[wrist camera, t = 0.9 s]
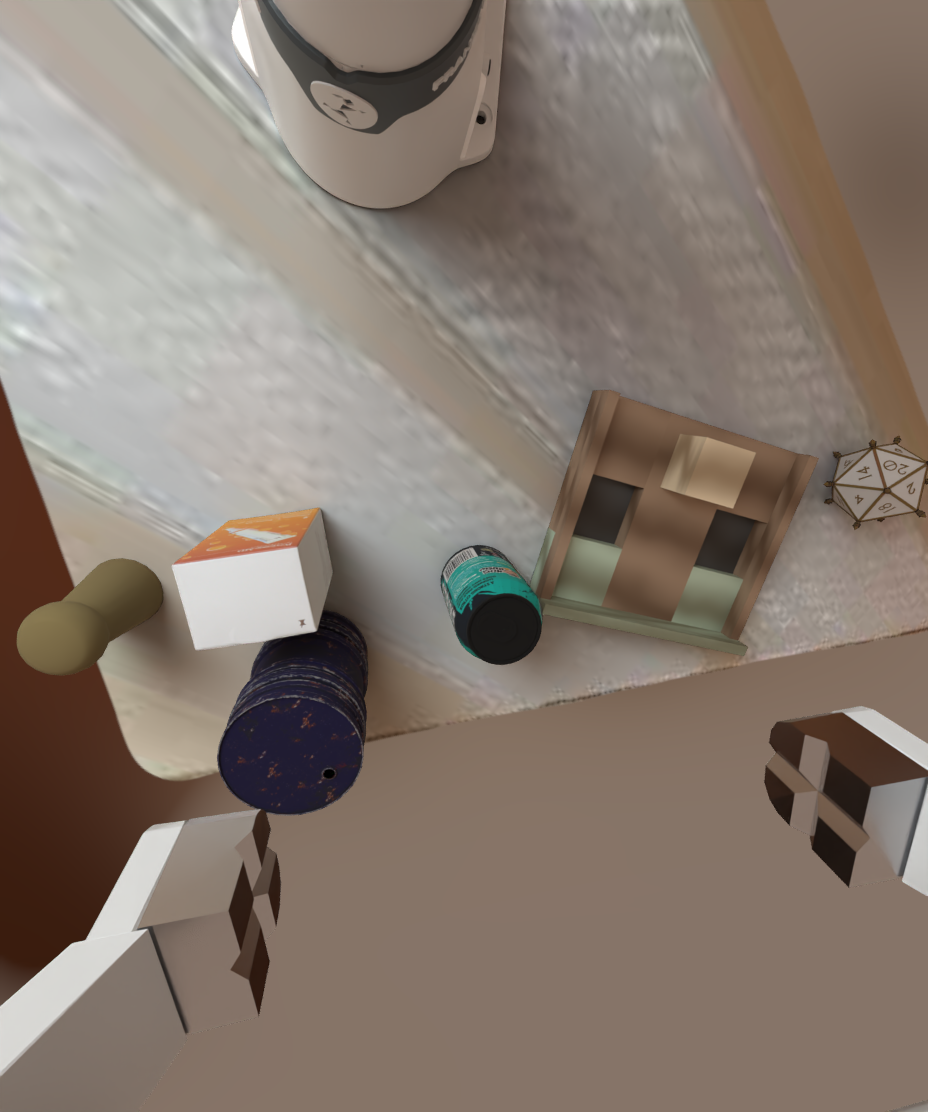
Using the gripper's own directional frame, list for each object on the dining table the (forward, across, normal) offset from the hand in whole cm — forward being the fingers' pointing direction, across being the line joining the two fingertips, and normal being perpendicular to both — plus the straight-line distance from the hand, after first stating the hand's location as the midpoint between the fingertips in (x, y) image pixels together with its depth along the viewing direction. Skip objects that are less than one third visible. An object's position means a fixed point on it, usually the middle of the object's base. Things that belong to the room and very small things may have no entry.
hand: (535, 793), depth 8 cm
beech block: (+38, -26, +2) cm, 46 cm away
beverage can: (+40, -6, +12) cm, 42 cm away
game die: (+40, -44, +5) cm, 60 cm away
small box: (+40, +12, +6) cm, 42 cm away
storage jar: (+40, +10, +17) cm, 45 cm away
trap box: (+40, -24, +8) cm, 47 cm away
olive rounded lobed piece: (+40, +25, +9) cm, 48 cm away
